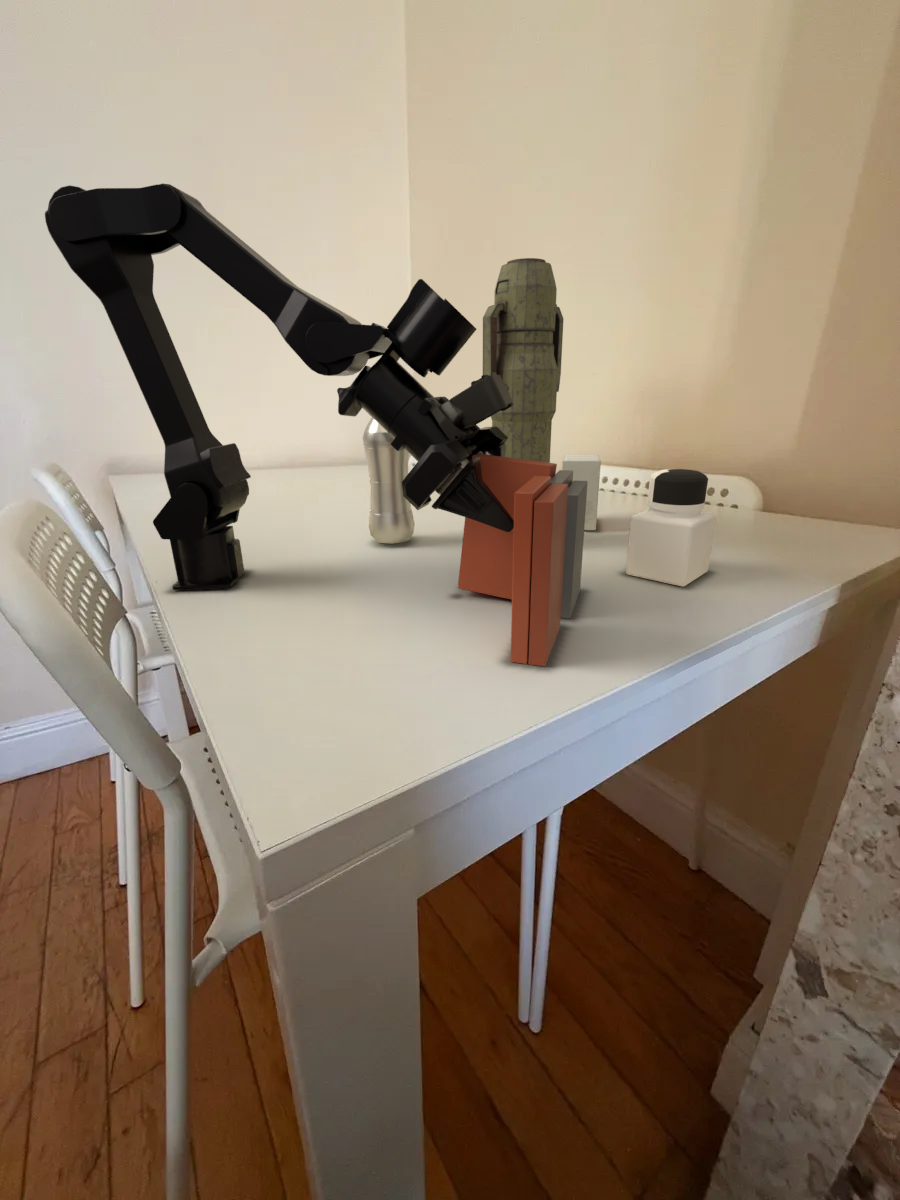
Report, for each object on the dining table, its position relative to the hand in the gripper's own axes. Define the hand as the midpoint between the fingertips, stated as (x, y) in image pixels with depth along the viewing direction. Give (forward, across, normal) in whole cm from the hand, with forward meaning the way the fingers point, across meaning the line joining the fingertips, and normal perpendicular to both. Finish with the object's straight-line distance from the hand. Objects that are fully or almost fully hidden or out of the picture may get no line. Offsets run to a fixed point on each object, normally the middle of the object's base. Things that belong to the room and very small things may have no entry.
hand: (520, 520), depth 58 cm
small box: (+7, +34, +5) cm, 36 cm away
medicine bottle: (+17, +13, -4) cm, 22 cm away
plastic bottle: (-11, +17, +21) cm, 29 cm away
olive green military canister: (+2, +22, +10) cm, 24 cm away
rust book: (+4, 0, +8) cm, 8 cm away
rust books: (+8, -11, +4) cm, 14 cm away
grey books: (+9, 0, +3) cm, 10 cm away
